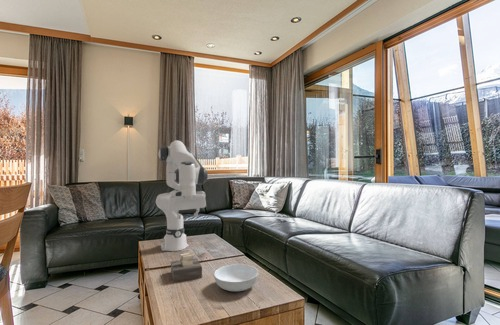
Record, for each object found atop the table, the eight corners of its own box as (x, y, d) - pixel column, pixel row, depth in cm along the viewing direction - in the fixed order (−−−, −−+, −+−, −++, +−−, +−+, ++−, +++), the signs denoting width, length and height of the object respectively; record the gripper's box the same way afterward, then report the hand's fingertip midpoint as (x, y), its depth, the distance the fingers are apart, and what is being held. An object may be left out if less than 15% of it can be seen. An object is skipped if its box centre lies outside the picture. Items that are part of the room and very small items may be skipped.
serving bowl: (207, 283, 130) (207, 269, 130) (245, 274, 140) (245, 261, 140) (225, 301, 112) (225, 285, 112) (267, 290, 122) (267, 274, 122)
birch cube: (180, 263, 141) (180, 254, 141) (189, 262, 143) (189, 252, 144) (183, 266, 137) (183, 257, 137) (192, 264, 139) (192, 255, 139)
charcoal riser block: (171, 272, 144) (171, 261, 144) (197, 269, 149) (197, 258, 149) (173, 283, 131) (173, 271, 131) (202, 278, 136) (201, 266, 136)
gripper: (203, 190, 152) (203, 214, 152) (166, 192, 141) (167, 218, 141) (207, 191, 146) (207, 216, 146) (170, 193, 135) (170, 220, 135)
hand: (187, 217), depth 143 cm, fingers open, 8 cm apart
